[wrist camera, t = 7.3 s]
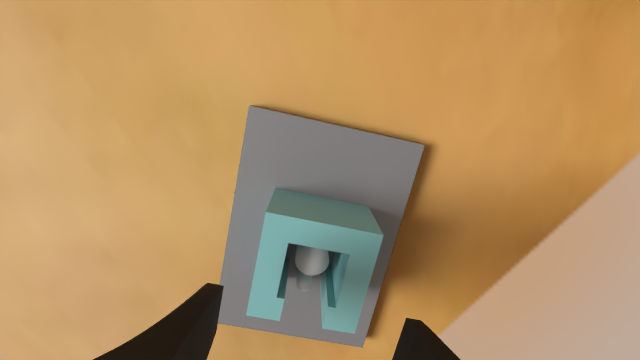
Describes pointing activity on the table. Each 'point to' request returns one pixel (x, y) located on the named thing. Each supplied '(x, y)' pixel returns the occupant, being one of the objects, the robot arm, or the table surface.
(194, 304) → the robot arm
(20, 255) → the table surface
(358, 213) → the teal slotted block
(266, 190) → the post board
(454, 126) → the table surface
